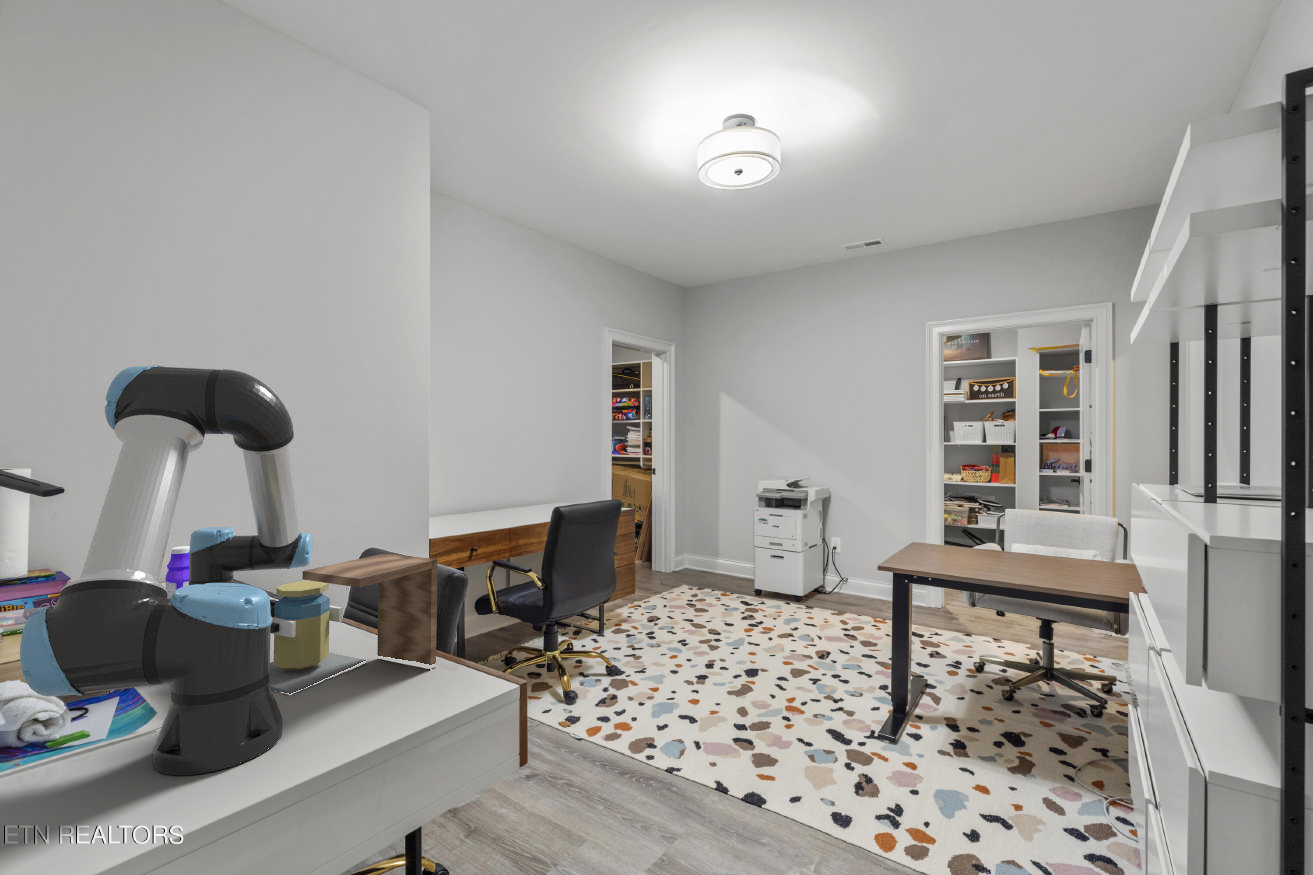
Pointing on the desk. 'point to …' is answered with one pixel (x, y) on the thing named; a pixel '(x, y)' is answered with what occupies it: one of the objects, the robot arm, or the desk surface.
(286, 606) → the jar
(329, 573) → the shelf
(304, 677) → the mat
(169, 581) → the bottle
